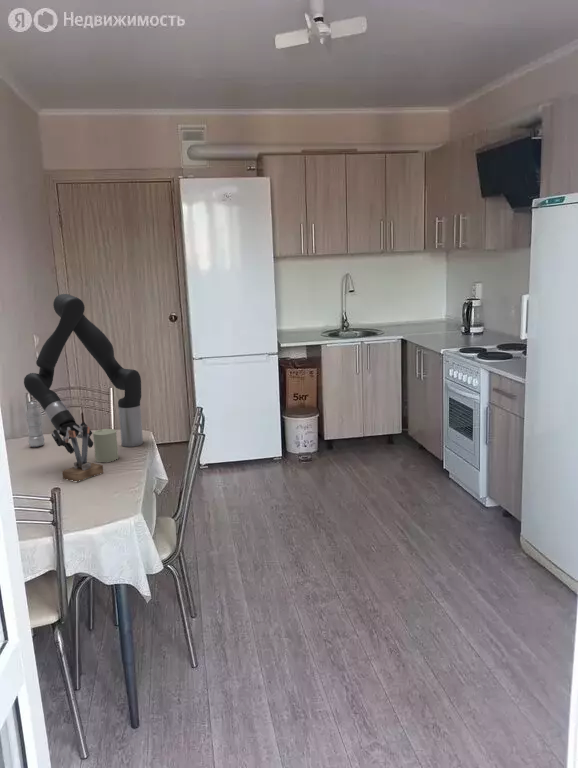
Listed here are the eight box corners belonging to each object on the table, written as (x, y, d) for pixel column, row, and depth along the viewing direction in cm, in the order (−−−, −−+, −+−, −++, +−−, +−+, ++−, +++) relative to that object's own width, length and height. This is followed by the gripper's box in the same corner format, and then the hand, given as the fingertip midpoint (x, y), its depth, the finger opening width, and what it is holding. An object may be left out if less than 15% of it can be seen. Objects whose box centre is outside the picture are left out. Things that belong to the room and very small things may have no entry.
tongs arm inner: (82, 465, 234) (84, 426, 234) (87, 466, 233) (89, 426, 232) (80, 465, 234) (82, 426, 233) (85, 467, 232) (87, 427, 231)
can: (107, 454, 259) (105, 426, 257) (123, 457, 254) (121, 429, 252) (90, 460, 251) (87, 432, 249) (106, 464, 247) (103, 434, 244)
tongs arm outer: (79, 466, 233) (69, 429, 228) (84, 467, 232) (74, 430, 227) (77, 467, 232) (67, 430, 227) (82, 468, 231) (72, 431, 226)
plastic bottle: (25, 448, 271) (20, 403, 268) (36, 443, 278) (31, 399, 274) (38, 449, 270) (33, 403, 266) (48, 444, 276) (43, 400, 272)
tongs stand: (89, 469, 240) (88, 457, 239) (103, 472, 236) (102, 460, 235) (63, 478, 231) (61, 465, 230) (77, 482, 226) (75, 469, 225)
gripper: (47, 413, 227) (70, 448, 223) (79, 405, 239) (101, 438, 235) (39, 426, 231) (62, 460, 227) (71, 417, 243) (93, 450, 238)
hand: (82, 449), depth 231 cm, fingers open, 8 cm apart
